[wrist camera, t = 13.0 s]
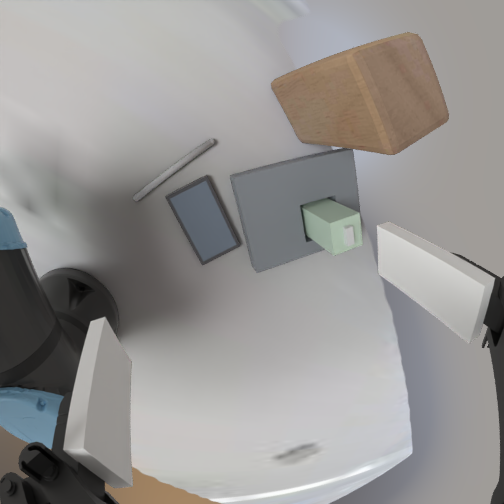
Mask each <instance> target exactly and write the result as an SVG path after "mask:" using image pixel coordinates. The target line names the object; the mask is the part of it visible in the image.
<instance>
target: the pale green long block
mask: <svg viewBox="0 0 504 504" xmlns="http://www.w3.org/2000/svg"><path fill="white" fill-rule="evenodd" d="M300 209H301V215H302V221H303V227H304V233H305V234H306V235H307V236H308V237H310V238H311V239H312V240H314V241H315V242H316V243H318V244H319V245H320V246H322V247H323V248H324V249H325V250H327V251H328V252H329V253H331V254H332V255H333V256H336V255H338V254H341V253H343V252H346V251H348V250H351V249H353V248H356V247H358V246H360V245H363V243H362V231H361V221H360V213H359V212H357V211H354V210H352V209H350V208H348V207H346V206H344V205H341V204H339V203H337V202H335V201H332V200H330V199H328V198H323V199H320V200H316V201H313V202H310V203H306V204H303V205H300Z"/></svg>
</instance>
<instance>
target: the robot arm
mask: <svg viewBox="0 0 504 504" xmlns="http://www.w3.org/2000/svg"><path fill="white" fill-rule="evenodd" d="M377 237H378V274H379V275H381V276H382V277H383V278H385V279H386V280H387V281H389V282H390V283H392V284H393V285H394V286H396V287H397V288H398V289H400V290H401V291H402V292H404V293H405V294H406V295H408V296H409V297H410V298H412V299H413V300H414V301H416V302H417V303H418V304H419V305H421V306H422V307H423V308H425V309H426V310H427V311H429V312H430V313H431V314H432V315H434V316H435V317H436V318H437V319H439V320H440V321H441V322H443V323H444V324H445V325H446V326H448V327H449V328H450V329H451V330H453V331H454V332H455V333H456V334H457V335H459V336H460V337H461V338H462V339H464V340H465V341H466V342H467V343H471V342H472V341H473V340H474V339H476V338H477V337H478V336H479V335H480V333H481V329H482V326H483V323H484V324H485V325H486V326H488V328H487V331H486V334H485V337H484V340H483V343H482V348H484V346H485V344H486V341H488V343H489V344H488V346H487V347H488V348H490V353H491V358H492V364H493V370H494V377H495V384H496V392H497V400H498V411H499V424H500V477H499V482H498V484H497V487H496V489H495V490H494V492H493V495H492V499H491V504H504V277H502V278H500V277H498V276H497V275H495V274H493V273H491V272H490V271H488V270H486V269H484V268H483V267H481V266H479V265H476V263H474V262H472V261H469V260H468V259H466V258H465V257H463V256H461V255H458V254H454V253H450V252H448V251H446V250H444V249H442V248H441V247H439V246H437V245H435V244H433V243H431V242H429V241H427V240H425V239H423V238H421V237H419V236H417V235H415V234H413V233H411V232H409V231H407V230H405V229H403V228H401V227H399V226H397V225H395V224H393V223H390V222H389V221H388V222H385V223H383V224H380V225H377ZM117 327H118V310H117V306H116V304H115V301H114V299H113V297H112V296H111V294H110V293H109V291H108V290H107V289H106V288H105V287H104V286H103V285H102V284H101V283H100V282H99V281H98V280H96V279H95V278H94V277H92V276H90V275H89V274H87V273H84V272H82V271H79V270H75V269H68V268H63V269H56V270H53V271H50V272H48V273H46V274H45V275H43V276H42V277H41V278H40V279H39V278H38V276H37V274H36V271H35V269H34V266H33V264H32V261H31V259H30V256H29V254H28V251H27V244H26V243H25V242H24V241H23V239H22V237H21V235H20V232H19V230H18V227H17V225H16V222H15V219H14V217H13V215H12V214H11V213H10V211H8V210H7V209H5V208H2V207H0V425H1V426H2V427H3V428H5V429H6V430H7V431H8V432H10V433H11V434H13V435H14V436H16V437H18V438H20V439H22V440H24V441H26V442H29V443H30V444H28V445H27V446H26V447H25V448H24V449H23V450H22V452H21V454H20V456H19V467H20V470H21V471H23V472H24V473H25V474H27V475H28V476H29V477H28V478H25V479H23V478H21V477H20V476H18V475H17V474H16V473H12V472H10V473H7V474H6V475H4V476H3V478H2V479H1V481H0V500H1V504H119V503H118V502H117V501H116V500H115V499H114V498H113V497H112V496H111V495H110V494H109V493H108V492H106V491H105V482H106V483H107V484H109V485H110V486H112V487H113V488H122V487H132V486H133V480H132V464H131V436H130V397H131V369H132V361H131V360H130V358H129V357H128V355H127V353H126V352H125V350H124V348H123V347H122V345H121V343H120V342H119V340H118V338H117V337H116V333H117ZM48 448H51V449H52V450H50V449H48Z"/></svg>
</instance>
